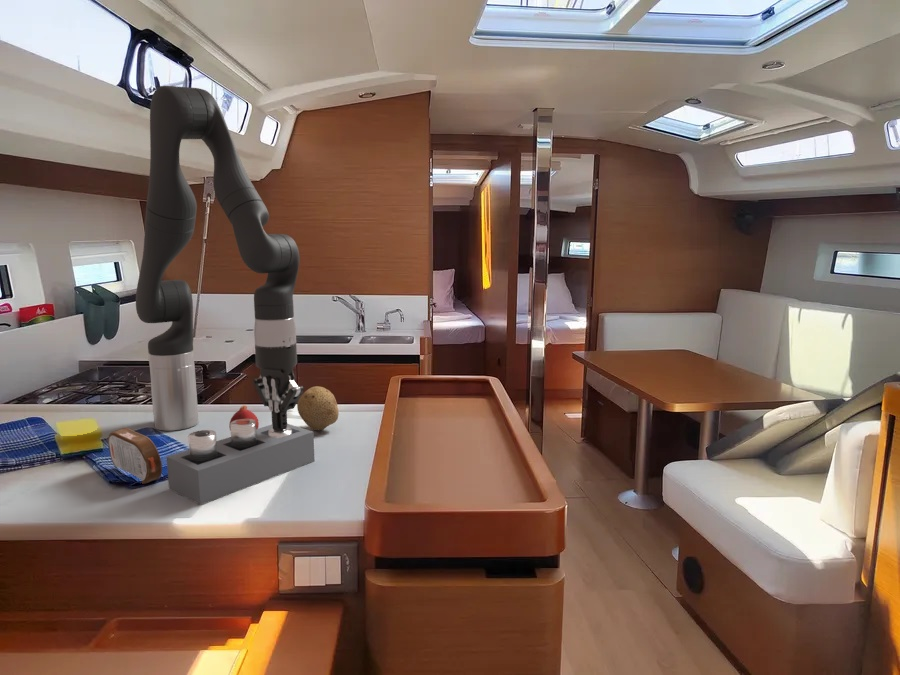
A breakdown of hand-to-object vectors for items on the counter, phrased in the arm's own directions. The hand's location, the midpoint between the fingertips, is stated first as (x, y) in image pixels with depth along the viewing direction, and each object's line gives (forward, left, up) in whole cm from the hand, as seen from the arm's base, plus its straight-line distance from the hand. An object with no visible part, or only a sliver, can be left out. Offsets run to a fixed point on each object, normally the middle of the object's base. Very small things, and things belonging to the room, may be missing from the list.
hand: (279, 429), depth 116 cm
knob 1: (0, -16, -1) cm, 16 cm away
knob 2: (0, 0, -4) cm, 4 cm away
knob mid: (0, -8, -1) cm, 8 cm away
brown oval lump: (-9, +17, -7) cm, 21 cm away
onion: (-15, +2, -7) cm, 17 cm away
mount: (0, -8, -7) cm, 10 cm away
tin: (-15, -21, -7) cm, 27 cm away
